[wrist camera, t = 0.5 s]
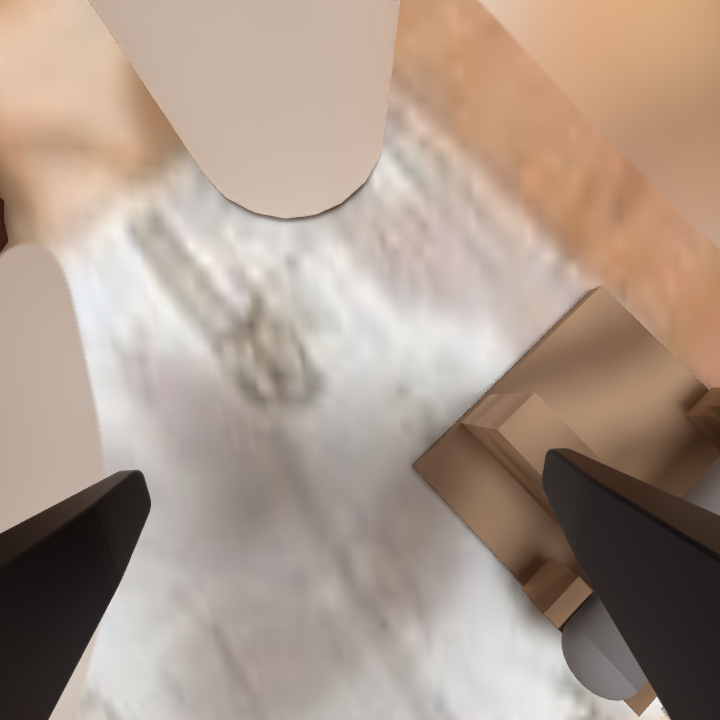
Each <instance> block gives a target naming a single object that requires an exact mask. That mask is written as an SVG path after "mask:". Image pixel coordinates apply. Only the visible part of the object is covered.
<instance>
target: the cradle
mask: <svg viewBox="0 0 720 720" xmlns="http://www.w3.org/2000/svg"><path fill="white" fill-rule="evenodd" d="M551 448H569V449H571V450H574V451H576V452H578V453H580V454H583V455H585V456H587V457H589V458H592V459H594V460H596V461H598V462H601V463H603V464H605V465H607V466H610V467H612V468H614V469H616V470H619V471H621V472H623V473H625V474H628V475H630V476H632V477H634V478H637V479H639V480H641V481H643V482H646V483H648V484H650V485H652V486H655V487H657V488H659V489H661V490H664V491H666V492H668V493H670V494H673V495H675V496H677V497H679V498H682V496H683V495H684V494H685V493H686V492H687V491H688V490H689V489H690V488H691V487H692V486H693V485H694V483H695V482H696V481H697V480H698V479H699V478H700V477H701V476H702V475H703V474H704V473H705V472H706V470H707V469H708V468H709V467H710V466H711V465H712V464H713V463H714V462H715V461H716V460H717V458H718V457H719V456H720V388H711V389H710V390H708V389H707V388H706V387H705V386H704V385H703V384H702V383H701V382H700V381H699V380H698V379H697V378H696V377H695V376H694V375H693V374H692V373H691V372H690V371H689V370H688V369H687V368H686V367H685V366H684V365H683V364H682V363H681V362H680V361H678V360H677V359H676V358H675V357H674V356H673V355H672V354H671V353H670V352H669V351H668V350H667V349H666V348H665V347H664V346H663V345H662V344H661V343H660V342H659V341H658V340H657V339H656V338H655V337H654V336H653V335H652V334H651V333H650V332H649V331H648V330H647V329H646V328H645V327H644V326H643V325H642V324H641V323H640V322H639V321H638V320H637V319H635V318H634V317H633V316H632V315H631V314H630V313H629V312H628V311H627V310H626V309H625V308H624V307H623V306H622V305H621V304H620V303H619V302H618V301H617V300H616V299H615V298H614V297H613V296H612V295H611V294H610V293H609V292H608V291H607V290H606V289H605V288H604V287H603V286H602V285H601V286H599V287H597V288H595V289H593V290H591V291H590V292H589V293H588V294H587V295H586V296H585V297H584V298H583V299H582V300H581V301H580V302H579V303H578V304H577V305H576V306H575V307H574V308H573V309H572V310H571V311H569V312H568V313H567V314H566V315H565V316H564V317H563V318H562V319H561V320H560V321H559V322H558V323H557V324H556V325H555V326H554V327H553V328H552V329H551V330H550V331H549V332H548V333H547V334H546V335H545V336H544V337H543V338H542V339H541V340H540V341H539V342H538V343H537V344H536V345H535V346H534V347H533V348H532V349H531V350H530V351H529V352H528V353H527V354H526V355H524V356H523V357H522V358H521V359H520V360H519V361H518V362H517V363H516V364H515V365H514V366H513V367H512V368H511V369H510V370H509V371H508V372H507V373H506V374H505V375H504V376H503V377H502V378H501V379H500V380H499V381H498V382H497V383H496V384H495V385H494V386H493V387H492V388H491V389H490V390H489V391H488V392H487V393H486V394H485V395H484V396H483V397H482V398H481V399H480V400H478V401H477V402H476V403H475V404H474V405H473V406H472V407H471V408H470V409H469V410H468V411H467V412H466V413H465V414H464V415H463V416H462V417H461V418H460V419H459V420H458V421H457V422H456V423H455V424H454V425H453V426H452V427H451V428H450V429H449V430H448V431H447V432H446V433H445V434H444V435H443V436H442V437H441V438H440V439H439V440H438V441H437V442H436V443H435V444H434V445H432V446H431V447H430V448H429V449H428V450H427V451H426V452H425V453H424V454H423V455H422V456H421V457H420V458H419V459H418V460H417V461H416V462H415V463H414V464H413V465H412V466H413V467H414V468H415V469H416V470H417V471H418V472H419V473H420V474H421V475H422V477H423V478H424V479H425V480H426V481H427V482H428V483H429V484H430V485H431V486H432V487H433V488H434V489H435V491H436V492H437V493H438V494H439V495H440V496H441V497H442V498H443V499H444V500H445V501H446V502H447V504H448V505H449V506H450V507H451V508H452V509H453V510H454V511H455V512H456V513H457V514H458V515H459V516H460V518H461V519H462V520H463V521H464V522H465V523H466V524H467V525H468V526H469V527H470V528H471V529H472V530H473V532H474V533H475V534H476V535H477V536H478V537H479V538H480V539H481V540H482V541H483V542H484V543H485V544H486V546H487V547H488V548H489V549H490V550H491V551H492V552H493V553H494V554H495V555H496V556H497V557H498V559H499V560H500V561H501V562H502V563H503V564H504V565H505V566H506V567H507V568H508V569H509V570H510V571H511V573H512V574H513V575H514V576H515V577H516V578H517V579H518V580H519V581H520V582H521V583H522V584H523V585H524V586H523V587H522V588H521V589H522V590H523V591H524V592H525V593H526V594H527V595H528V597H529V598H530V599H531V600H532V601H533V602H534V604H535V605H536V606H537V607H538V608H539V609H540V610H541V611H542V613H543V614H544V615H545V616H546V617H547V618H548V619H549V620H550V621H551V622H552V623H553V625H554V626H555V627H556V628H557V629H559V630H560V631H561V632H562V633H563V630H564V627H565V625H566V623H567V622H568V620H569V619H570V618H571V617H572V616H573V615H574V614H575V613H576V611H577V610H578V609H579V608H580V607H581V606H582V605H583V604H584V603H585V602H586V601H587V600H588V598H589V597H590V596H591V595H592V594H593V593H594V592H595V590H594V588H593V587H592V585H591V583H590V582H589V580H588V578H587V577H586V575H585V573H584V572H583V570H582V568H581V566H580V565H579V563H578V561H577V559H576V558H575V556H574V554H573V552H572V550H571V548H570V546H569V544H568V542H567V540H566V538H565V535H564V533H563V531H562V529H561V527H560V525H559V523H558V520H557V518H556V516H555V514H554V512H553V510H552V508H551V505H550V503H549V501H548V499H547V497H546V495H545V492H544V490H543V487H542V473H543V467H544V461H545V455H546V452H547V451H548V450H549V449H551ZM656 697H657V695H656V693H655V692H654V690H653V688H652V687H651V685H650V683H649V682H648V681H647V682H646V683H645V685H644V686H643V687H642V688H641V689H640V690H639V691H638V692H637V693H636V694H635V695H634V696H633V697H631V698H628V699H626V700H624V701H625V702H626V703H627V704H628V706H629V707H630V708H631V709H632V710H633V711H634V712H635V713H636V714H637V715H638V716H640V715H641V714H642V713H643V712H644V711H645V709H646V708H647V707H648V706H649V705H650V704H651V703H652V701H653V700H654V699H655V698H656Z"/></svg>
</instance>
